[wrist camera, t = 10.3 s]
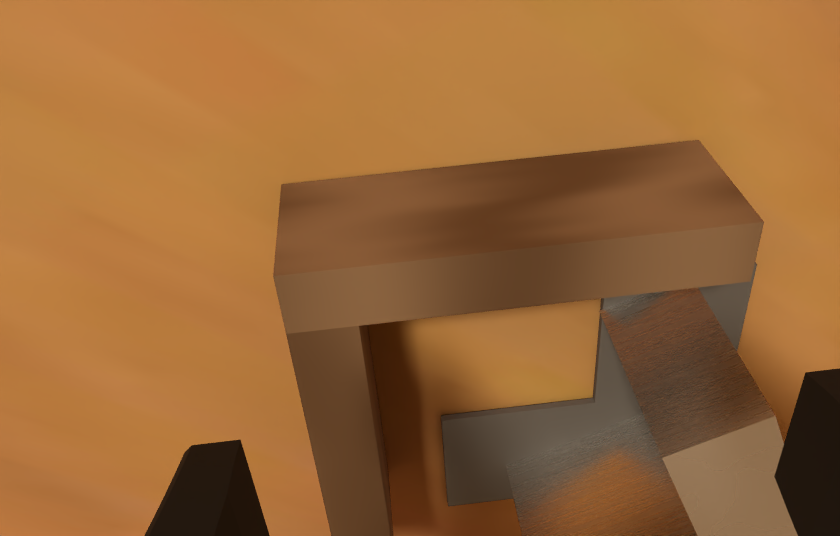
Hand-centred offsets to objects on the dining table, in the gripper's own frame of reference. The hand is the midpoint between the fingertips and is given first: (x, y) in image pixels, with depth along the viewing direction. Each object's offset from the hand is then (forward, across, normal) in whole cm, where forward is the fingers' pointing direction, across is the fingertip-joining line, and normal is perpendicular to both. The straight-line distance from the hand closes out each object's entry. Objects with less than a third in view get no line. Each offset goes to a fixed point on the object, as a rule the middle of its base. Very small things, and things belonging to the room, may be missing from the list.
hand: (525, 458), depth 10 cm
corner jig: (+9, -1, +6) cm, 11 cm away
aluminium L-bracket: (+9, -4, +9) cm, 14 cm away
